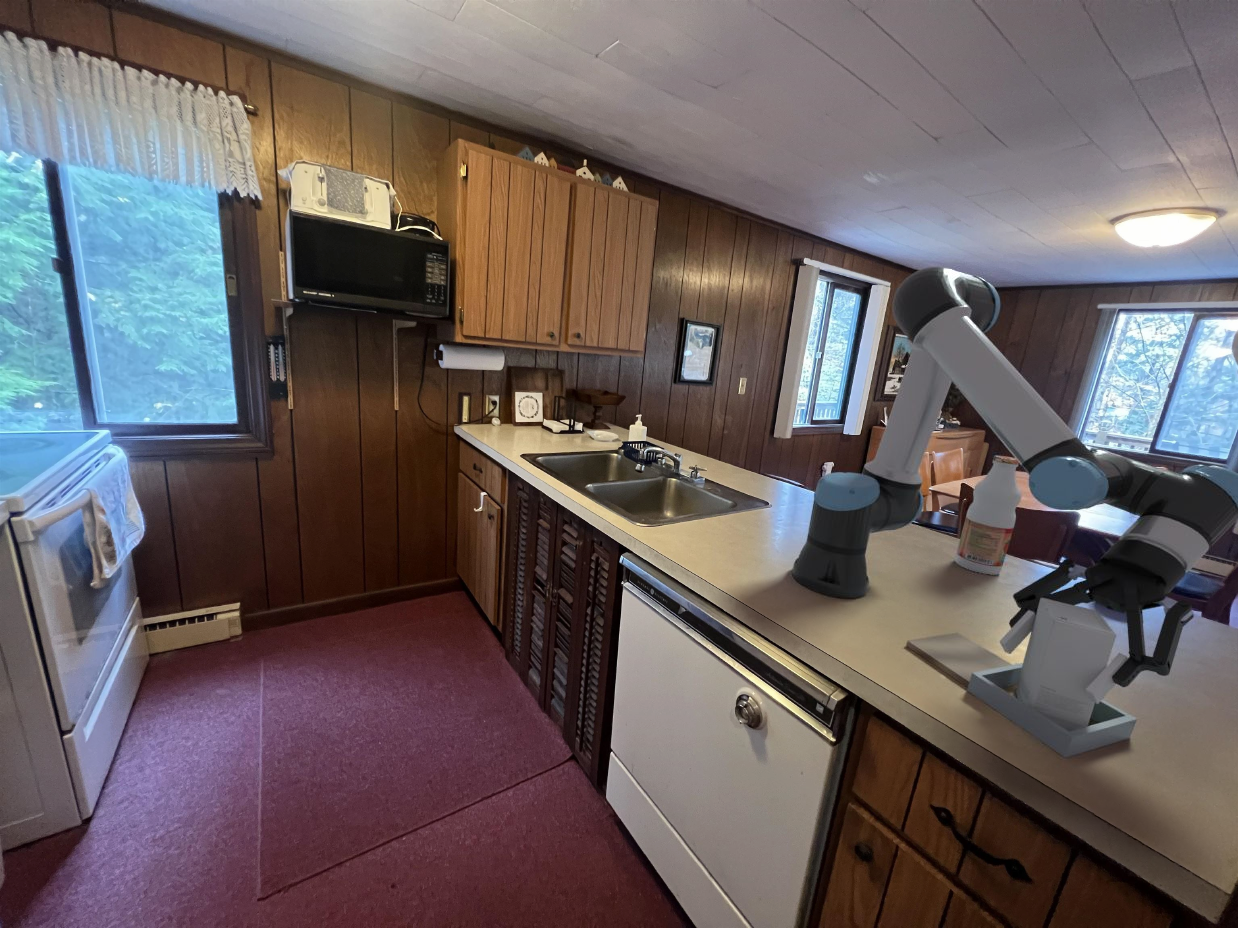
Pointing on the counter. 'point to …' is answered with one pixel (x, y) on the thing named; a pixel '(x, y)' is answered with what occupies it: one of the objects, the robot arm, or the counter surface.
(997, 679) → the bin
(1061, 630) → the skincare box
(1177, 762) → the counter surface
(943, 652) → the coaster
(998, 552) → the fruit juice
